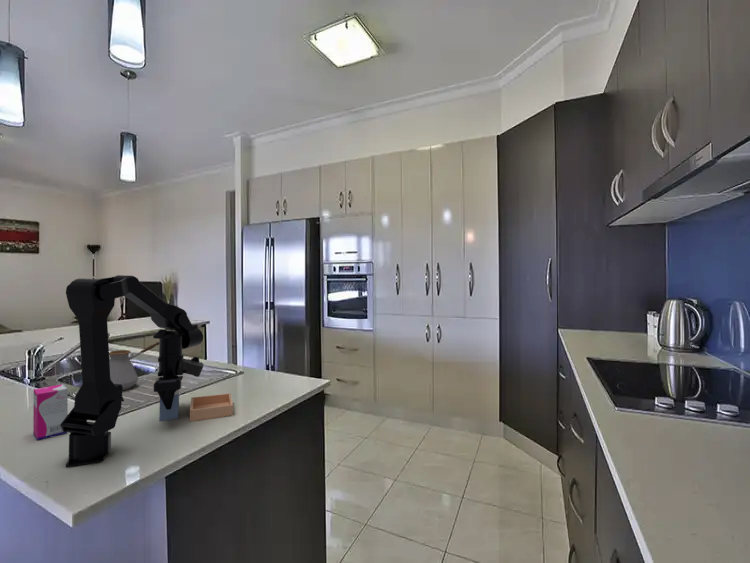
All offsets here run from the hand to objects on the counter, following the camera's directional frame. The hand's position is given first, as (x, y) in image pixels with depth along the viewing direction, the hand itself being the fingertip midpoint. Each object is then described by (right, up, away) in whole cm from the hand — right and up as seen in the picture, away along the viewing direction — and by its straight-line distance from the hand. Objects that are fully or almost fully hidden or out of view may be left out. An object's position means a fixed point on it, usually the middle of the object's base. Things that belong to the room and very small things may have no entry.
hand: (169, 406), depth 101 cm
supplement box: (-23, -3, -12) cm, 26 cm away
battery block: (0, -3, 0) cm, 3 cm away
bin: (+10, -3, +5) cm, 11 cm away
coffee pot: (-29, -2, +27) cm, 40 cm away
